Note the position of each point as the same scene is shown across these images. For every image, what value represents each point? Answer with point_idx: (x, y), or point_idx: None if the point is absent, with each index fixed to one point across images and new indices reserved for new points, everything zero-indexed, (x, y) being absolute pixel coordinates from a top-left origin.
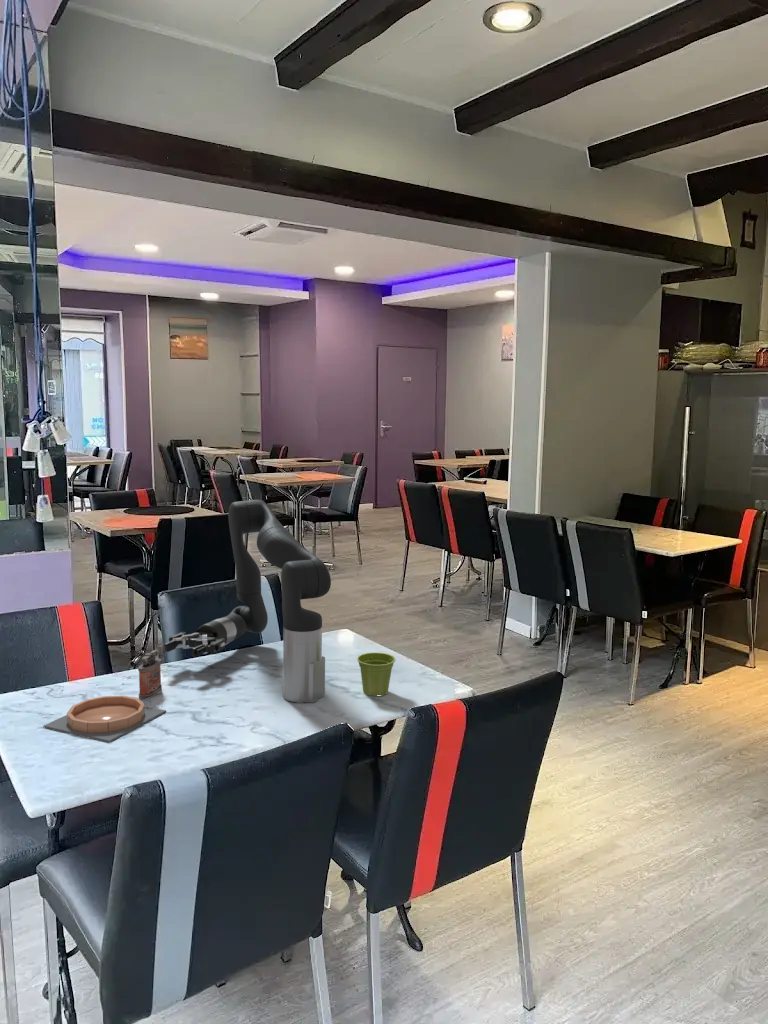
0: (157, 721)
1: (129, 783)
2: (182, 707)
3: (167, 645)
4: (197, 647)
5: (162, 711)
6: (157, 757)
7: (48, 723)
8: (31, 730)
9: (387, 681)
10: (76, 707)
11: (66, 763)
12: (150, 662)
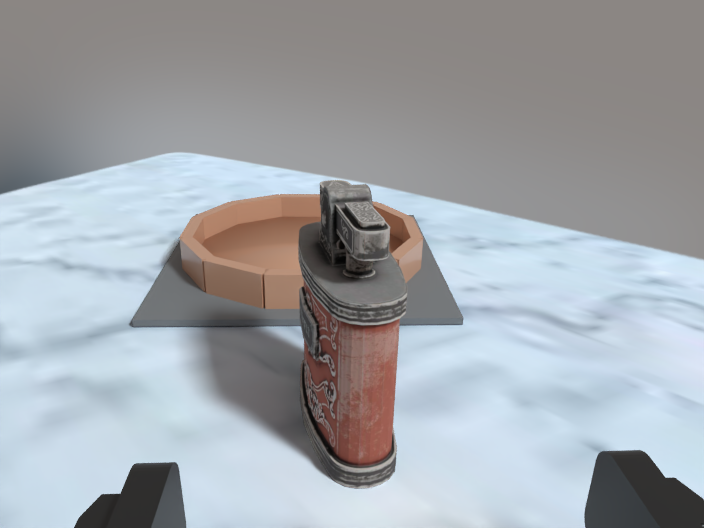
0: (129, 287)
1: (60, 179)
2: (76, 368)
3: (604, 469)
4: (114, 514)
5: (142, 312)
6: (37, 213)
7: (415, 220)
8: (421, 212)
9: None
10: (402, 224)
11: (224, 184)
12: (321, 231)
